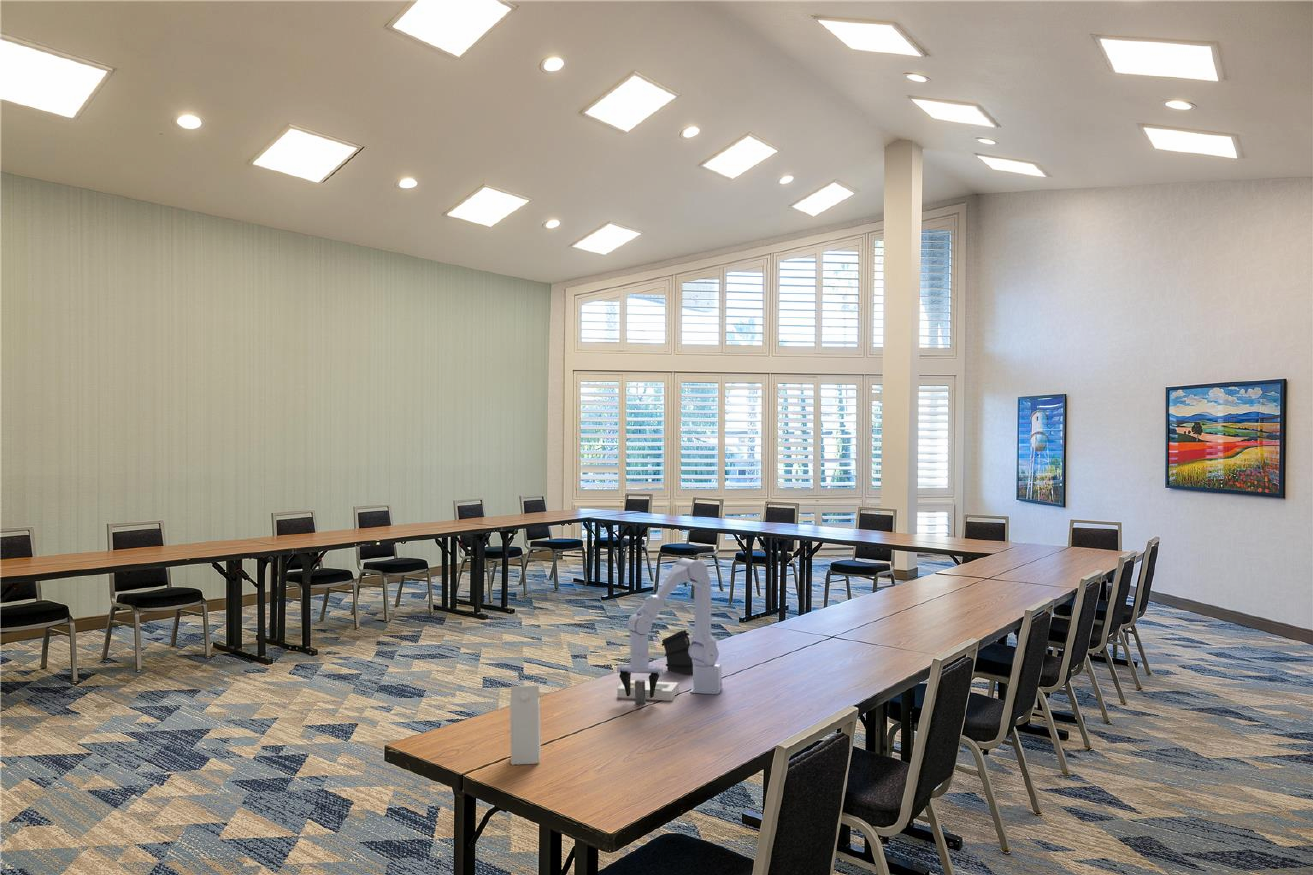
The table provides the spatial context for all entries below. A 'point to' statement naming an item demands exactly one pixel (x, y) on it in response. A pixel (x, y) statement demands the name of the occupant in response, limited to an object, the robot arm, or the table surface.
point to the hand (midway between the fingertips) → (640, 696)
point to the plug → (640, 692)
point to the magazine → (678, 653)
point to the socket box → (661, 691)
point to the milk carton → (525, 725)
